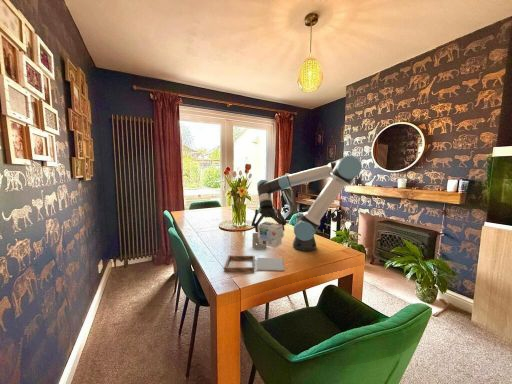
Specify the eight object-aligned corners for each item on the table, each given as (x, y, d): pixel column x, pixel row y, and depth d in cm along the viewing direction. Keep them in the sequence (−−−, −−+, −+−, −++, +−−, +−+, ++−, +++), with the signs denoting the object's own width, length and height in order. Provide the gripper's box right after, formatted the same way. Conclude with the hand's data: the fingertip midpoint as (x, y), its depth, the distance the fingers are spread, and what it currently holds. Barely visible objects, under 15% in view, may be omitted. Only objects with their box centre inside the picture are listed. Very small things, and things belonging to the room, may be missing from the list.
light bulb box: (258, 243, 113) (258, 224, 112) (264, 240, 119) (264, 221, 118) (276, 248, 108) (277, 227, 106) (282, 244, 114) (282, 224, 112)
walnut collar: (254, 259, 122) (254, 255, 122) (254, 271, 107) (254, 268, 107) (228, 258, 122) (228, 255, 122) (224, 271, 108) (224, 267, 107)
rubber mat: (281, 259, 122) (281, 258, 122) (284, 271, 109) (284, 269, 108) (257, 258, 123) (257, 257, 123) (257, 270, 109) (257, 269, 109)
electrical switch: (252, 247, 139) (252, 233, 139) (252, 245, 144) (253, 231, 144) (266, 248, 138) (266, 234, 138) (266, 246, 144) (266, 232, 143)
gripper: (284, 206, 129) (291, 239, 116) (244, 206, 125) (247, 241, 112) (287, 198, 123) (295, 232, 110) (245, 199, 119) (248, 234, 106)
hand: (271, 237), depth 111 cm, fingers closed on light bulb box, 12 cm apart
